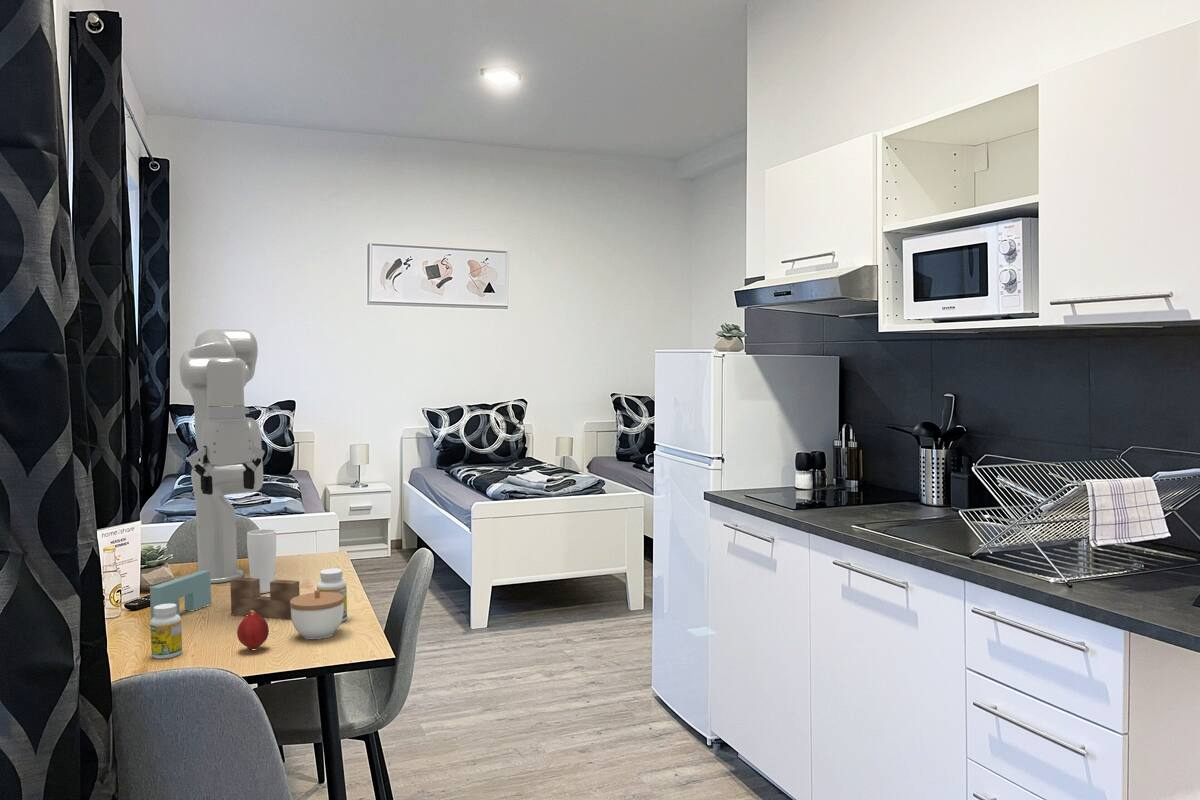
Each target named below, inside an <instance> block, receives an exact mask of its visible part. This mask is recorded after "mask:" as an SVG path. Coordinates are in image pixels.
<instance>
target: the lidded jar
mask: <svg viewBox="0 0 1200 800" xmlns="http://www.w3.org/2000/svg"><path fill="white" fill-rule="evenodd" d="M290 607H291V618H292V619H291V621H292V625H293V628H294V629H295V631H296V632H297V633H298V634H299V635H301V636H302V638H303V639H304V638H305V639H304V640H308V639H318V640H322V639H321V638H324V639H327V638H326V637H328V638H330V637H329V636H331V635H332V636H334V633H335V632H336V631H337V630H338V629H339V628H340V625H341V624H342V622H341V621H342V618H343V612H344V596H343V595H342V594H340V593H335V592H320V590H317V589H316V590H315V589H314V592H309V593H303V594H300V595H299V596H297V597H294V598H292V599H291V600H290ZM332 636H331V637H332Z"/></svg>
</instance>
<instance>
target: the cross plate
mask: <svg viewBox="0 0 1200 800" xmlns="http://www.w3.org/2000/svg"><path fill="white" fill-rule="evenodd" d="M211 585H212V583H211V579H210V571H202V570H201V571H198V570H197V571H195V572H191V573H190V574H187V575H183V576H181V577H178V578H174V579H172V580H168V581H165V582H162V583H159V584H156V585H153V586H150V587H149V599H150V600H149V602H150V621H151V620H152V618H154V617H155V615H154V607H155V606H157V605H161V604H176V607H177V611H176V613H175V614H177V615H179V616H180V617H181V613H180V612H181V611H180V599H181V598H184V599H183V601H184V611H185V610H196V609H199V608H201V609H203V608H202V607H204V606H207V605H209V604H211V605H212V590H211V589H212V587H211ZM209 606H210V605H209ZM207 607H208V606H207ZM204 608H205V607H204ZM199 610H200V609H199ZM196 611H197V610H196Z"/></svg>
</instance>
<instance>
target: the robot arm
mask: <svg viewBox="0 0 1200 800" xmlns="http://www.w3.org/2000/svg"><path fill="white" fill-rule="evenodd" d="M258 350H259V348H258V342H257V339H256V337H255V335H254V334H253V332H251V331H250V330H247V329H207V330H205V331H203V332H201V333H199V335H198V336H197V337H196V339H195V343H194V347H191V348H189V349H186V351H184V352H183V353H182V355H181V357H180V361H179V367H178V368H179V376H180V382H181V384H182V387H184V388H185V390H187V391H188V393H189V394H190V396H191V399H192V402H193V407H194V408H193V411H194V430H195V431H194V433H195V443H196V447H197V451H195V452H194V453H192V454H191V455H189V456H188V457H187V461H188V462H189V464H190V466H191V471H190V473H191V474H190V478H191V483H192V489H193V495H194V501H195V516H196V519H195V520H196V521H195V522H196V545H197V572H198V571H201V570H202V571H210V579H211V584H218V583H219V584H220V583H225V582H226V583H227V582H230V580H231V579H234V578H237V577H243V578H244V576H245V573H244V570H243V569H240V568H238V554H237V553H238V552H237V549H238V547H237V524H236V523H237V522H236V521H237V518H236V517H237V516H236V510H235V507H234V505H232V504H231V502H230V501H228V500H227V499H226V498H225V496H227V495H234V494H235V495H237V494H248V493H251V494H252V493H256V492H258V491H260V490H261V489H262V487H263V485H264V465H263V464H264V463H263V457H264V455H265V453H266V452H265V449H262V439H261V438H262V437H261V429H260V426H259V423H258V422H257V420H256V419H254V418H253V417H246V415H247V414H250V409H249V407H246V405H245V390H244V389H245V387H246V385H247V384H248V383H249V381H251V380H252V379H253V377H254V376H255V371H256V366H257V361H258V360H257V359H258V352H259V351H258ZM199 460H200V461H199Z"/></svg>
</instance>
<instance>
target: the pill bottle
mask: <svg viewBox="0 0 1200 800" xmlns="http://www.w3.org/2000/svg"><path fill="white" fill-rule="evenodd" d="M319 577H320V581H319V582H317V585H316V590H320V592H335V593H340V594H342V595H343V596H344V612H343V618H342V621H341V623H344V622H345V621H346V620H347V619H348V597H347V596H348V595H347V592H348V591H347V582H346V581H345V579H343V578H342V577H343V569H341V568H326V569H322V570H321V571H320V572H319Z"/></svg>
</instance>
